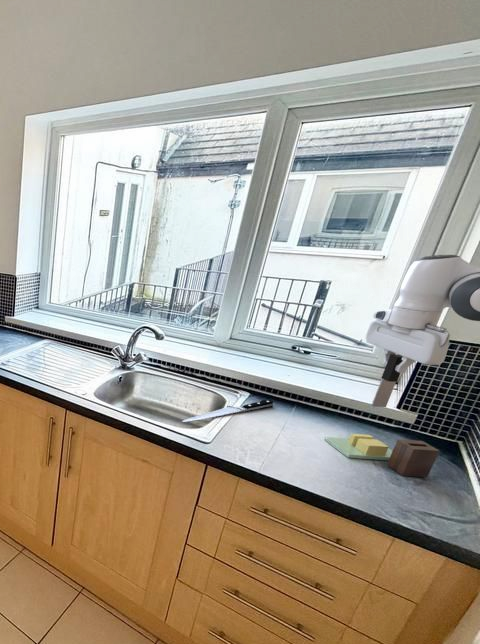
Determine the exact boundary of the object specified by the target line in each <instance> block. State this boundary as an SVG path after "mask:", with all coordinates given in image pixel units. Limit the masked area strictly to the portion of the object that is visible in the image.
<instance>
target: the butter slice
mask: <svg viewBox="0 0 480 644" xmlns="http://www.w3.org/2000/svg"><path fill="white" fill-rule="evenodd" d="M374 438H375V437H374V436H373V435H371V434H363V433H362V434H361V433H350V436H349V441H348V443H349V444H351V445H356V444H357V441H358V439H374Z"/></svg>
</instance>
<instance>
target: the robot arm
mask: <svg viewBox="0 0 480 644" xmlns="http://www.w3.org/2000/svg"><path fill="white" fill-rule="evenodd" d="M445 308H452V310H453V312H454V313H456V314H457V315H458V316H459V317H461V318H463V319H465V320H469V321H474V322H480V267H479V266H476V265H474V264H472V263H470V262H468V261H467V260H465V259H463V258H462V257H461V256H460V255H458V254H457V255H456V254H434V255H428V256H423V257H419V258H418V259H416V260H414V262H412V264H410V266H409V268H408V270H407V271H406V274H405V276H404V278H403V281H402V283H401V286H400V288H399V297H398V298H397V300H396V301H395V302H394V304H393V307H392V308H391V309H389V308H388V309H381V310H375V311H374V313H373V315H372V318H373V320H372V321H371V322H370V323H369V326H368V328H367V331H366V335H365V341H366V343H367V344H370V345H373V346H375V347H377V348H380V349H383V351H382V356H383V362H382V366H383V367H386V365H387V362H388V359H389V357H390V354H398V355H401V356H403V357H402V360H403V361H402V362H401V363H400V364H399V365H396V366H395V368H394V370H395V371H397V372H399V373H400V374H405V373H406V372H407V370H408V368H409V367H410V366H412V365H413V364H414V363H415V362H417V363H420V364H423V365H429V366H439V365H441V364H443V363H444V362H445V359H446V357H447V353H448V350H449V346H450V337H451V334H450V333H449V331H448V329H447V328H446V327H443V326H438V323H439V321H440V318H441V317H442V314H443V312H444V310H445Z"/></svg>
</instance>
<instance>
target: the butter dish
mask: <svg viewBox="0 0 480 644" xmlns="http://www.w3.org/2000/svg"><path fill="white" fill-rule="evenodd" d="M349 439H350V437H348V438H346V437H333V436H331V437H330V436H325V437H324V438H323V440H324V441H325V442H327V444H329V445H330V446H332V447H334V449H336V450H337V451H339V452H340V453H341V454H342V455H344V456H345V457H346V458H349V459H362V460H378V461H389V458H390V456H391V454H392V451H393V449H390V448H388V450H387V452H386V455H385V456H376V455H365V454H364V453H362V452H361V451H359V450H358V449H357V448H355V446H356V445H351V444H349V443H348V441H349Z"/></svg>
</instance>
